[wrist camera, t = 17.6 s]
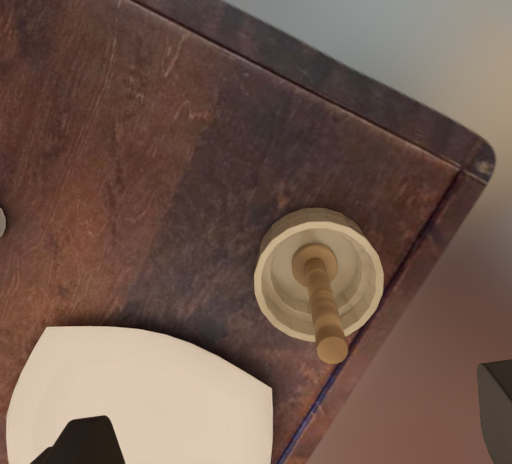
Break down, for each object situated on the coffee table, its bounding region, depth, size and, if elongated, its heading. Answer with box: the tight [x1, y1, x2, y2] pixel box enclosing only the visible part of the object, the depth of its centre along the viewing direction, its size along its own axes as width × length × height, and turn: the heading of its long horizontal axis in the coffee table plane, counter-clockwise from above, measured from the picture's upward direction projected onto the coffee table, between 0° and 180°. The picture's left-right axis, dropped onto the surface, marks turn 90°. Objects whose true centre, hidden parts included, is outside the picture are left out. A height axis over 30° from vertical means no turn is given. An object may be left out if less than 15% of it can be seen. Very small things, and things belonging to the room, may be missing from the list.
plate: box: [6, 326, 273, 464], centre depth 46 cm, size 27×27×2 cm
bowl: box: [254, 208, 384, 341], centre depth 39 cm, size 10×10×6 cm
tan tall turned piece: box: [292, 243, 348, 364], centre depth 33 cm, size 4×4×15 cm
